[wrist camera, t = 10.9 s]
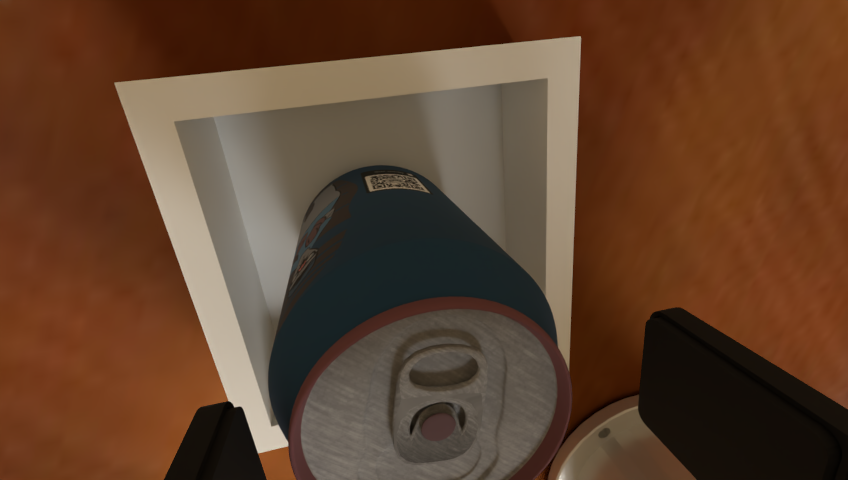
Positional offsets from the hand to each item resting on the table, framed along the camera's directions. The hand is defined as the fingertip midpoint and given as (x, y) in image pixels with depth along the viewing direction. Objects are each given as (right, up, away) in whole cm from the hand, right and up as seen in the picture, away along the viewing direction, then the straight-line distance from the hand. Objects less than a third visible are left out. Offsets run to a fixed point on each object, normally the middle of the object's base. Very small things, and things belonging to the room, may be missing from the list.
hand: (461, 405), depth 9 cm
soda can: (-3, +4, +10) cm, 11 cm away
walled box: (-3, +4, +11) cm, 12 cm away
